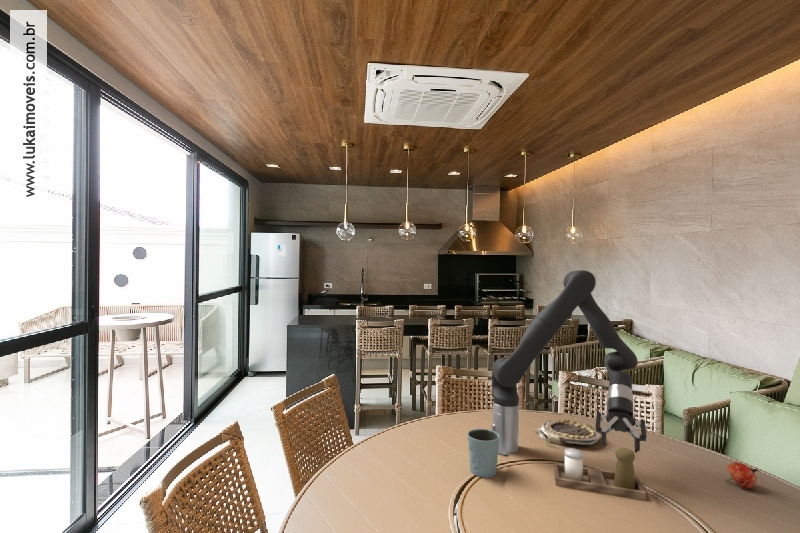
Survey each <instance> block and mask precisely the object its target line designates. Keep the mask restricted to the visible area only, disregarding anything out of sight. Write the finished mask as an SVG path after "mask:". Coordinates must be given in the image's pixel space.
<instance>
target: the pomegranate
mask: <svg viewBox="0 0 800 533" xmlns="http://www.w3.org/2000/svg"><path fill="white" fill-rule="evenodd" d="M726 470H727V472H728V473H729V474H730V476H731V478H728V479H726V480H724V482H725V481H726V482H728V481H731V480H733V481H734V482H735V483H737V485H738V487H740V488H741V489H747V490H748V489H752V488H754V487H755V486H756V485H757V482H758V481H757V480H758V477H757V475H756V472H760V470H759V469H758V468H751V467H750V466H748V465H747V464H745V463H742V462H738V461H735V462H732V463H730V464H729V465H727V468H726Z"/></svg>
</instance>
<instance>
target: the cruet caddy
mask: <svg viewBox="0 0 800 533" xmlns="http://www.w3.org/2000/svg"><path fill="white" fill-rule="evenodd" d="M553 475H554V482H555V487H556V486H557V487H562V488H568V489H575V490H580V491H587V492H593V493H599V494H603V495H611V496H616V497H617V496H618V497H624V498H628V499H629V498H630V499H636V500H641V501H647V492H646V489H644V487H643V485H642V482H641V481H640V479H639V477H638V475H637V474H634V475H635V482H636V490H633V489H627V488H620V487H616V486H615V485H614V477H615V471H612V470H604V469H599V468H592V467H591V468H590V467H584V466H583V481H577V480H570V479H565V463H558V462H553Z"/></svg>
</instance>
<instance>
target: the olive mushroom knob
mask: <svg viewBox="0 0 800 533" xmlns="http://www.w3.org/2000/svg"><path fill="white" fill-rule="evenodd" d="M614 453H615V454H614V455H615V457H616V464H615V465H616V466H615V471H614V472H615V477H614V485H615V486H616V487H620V488H627V489H633V490H636V482H635V475H636V474H635V469H634V461H635V459H636V455H635V451H633V450H632V449H630V448H627V447H622V446H621V447H618V448H616V449H615V452H614Z"/></svg>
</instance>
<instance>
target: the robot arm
mask: <svg viewBox="0 0 800 533" xmlns="http://www.w3.org/2000/svg"><path fill="white" fill-rule="evenodd" d="M562 281H563V282H562V283H563V289H562V291H561V292H560V293H559V295H558V296H556V298H555V299H553V300H552V301H551V302H550V303H548V304H547V305H546V306H545V307H543V308H542V309H541V310H540V311H539V312H538V313H537V314H536V315H535V317H534V318H533V319H532V320H531V321H530V323H529V324H528V325H527V326H526V329H525V330H524V332H523V335H522V337H521V340H520V341H519V344H518V346H516V348H515V350H514V351H513V352H512V353H511V354H510V355H509V356H508V357H500V358H497V359H496V360H495V361H494V363H493V365H492V368H491V393H492V426H491V430H492V431H494V432H496V433H498V434H499V446H498V455H503V456H509V455H510V454H515V453H517V452H519V442H520V441H519V440H520V439H519V436H520V435H519V434H520V432H519V430H520V428H519V427H520V424H519V422H520V420H519V419H520V397H519V393H518V392H519V391H518V384H519V382H521V380H522V379H523V377H524V375H525V374H526V373H527V371H528V369H529V367H530V366H531V365H532V363H533V362H534V361H535V359H536V358H537V357H538V356H539V354H540V353H541V352H542V351H543V350H544V349H545V347H547V345H548V344H549V343H550V342H551V341H552V340H553V338H554V337H555V336H556V334H557V333H558V332H559V331H560V329H561V328H562V327H563V325H564V324H565V323H566V322H567V320H568V319H569V318H570V316H571V315H572V313H573V312H574V311H575V310H576V308H579V309H580V311H581V313H582V314H583V316H584V317H585V319H586V321H587V322H588V324H589V326H590V328H591V330H592V332H593V334H594V336H595V337H596V340H597V341H598V343H599V345H600V347H602V348H603V349H610V350H611V349H612V350H615V351H612V352H608V353H606V355H605V356H604V359H603V360H604V361H603V362H604V365H605V368H606V371H607V376H608V379H609V380H608V393H607V412H606V413H607V414H602V413H601V412H597V413H596V418H595V419H596V420H595V428H594V429H596V432H597V433H600V434H601V436H600V440H601V445H603V447H607V434H608V433H610V432H611V431H612V430H614V431H616V432H622V433H627V432H628V434H629V436H631V437H632V438H633V439H634V442H633V443H634V444H633V446H634V454H635V453H636V454H638V452H640V450H641V441H643V442H646V441H647V437H648V436H647V428H646V420H645V419H643V418H642V419H640V420H637V419H635V417H634V395H633V380H632V376H631V375H630V373H627V372H625V371H628V370H630V371H631V370H634V369H635V368H636V367H637V366H638V365H639V364H638V363H639V362H638V357H637V355H636V354H635V352H634V351H633V349H631V348H630V346H628V344H626V343H625V341H624V340H623V339H622V338H621V337H620V335H619V334H618V331H617V330H616V328H615V327H614V325H613V323H612V321H611V320H610V319H609V317H608V315H607V314H606V313H605V312H604V311H603V309H602V308H601V307H600V306H599V305H598V303H597V301H596V300H595V298H594V297H593V294H592V293H593V292H594V290H595V288H596V284H597V281H596V276H594V274H593V273H592V272H591V271H589V270H583V269H580V270H572V271H570V272H567V273H566V275H565V276H564V277H563V280H562ZM604 420H606V422H607V423H606V424H605V426H603V427H601V424H602V422H604ZM636 425H637V427H638V428H639V429H640V434H639V433H638V431H637V430H636V428H634V426H636Z"/></svg>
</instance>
